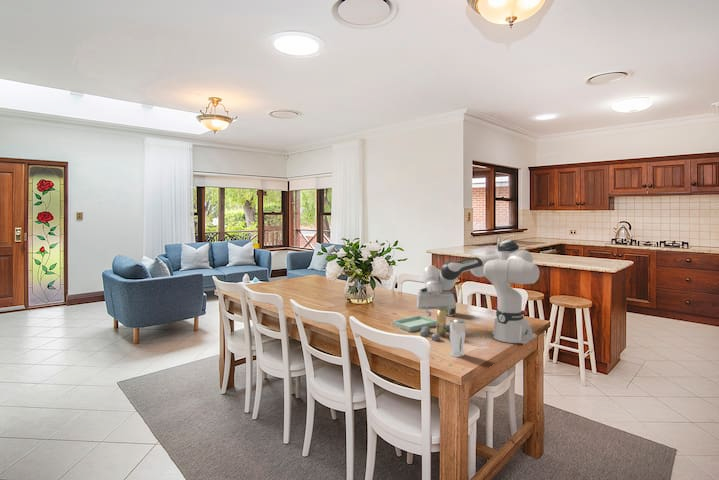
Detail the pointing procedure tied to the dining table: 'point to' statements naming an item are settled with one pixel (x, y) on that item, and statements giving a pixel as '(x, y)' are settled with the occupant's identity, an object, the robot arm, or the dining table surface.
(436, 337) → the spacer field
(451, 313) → the coffee can
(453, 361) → the dining table surface
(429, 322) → the tray
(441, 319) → the gold metal cylinder
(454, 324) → the beer glass
